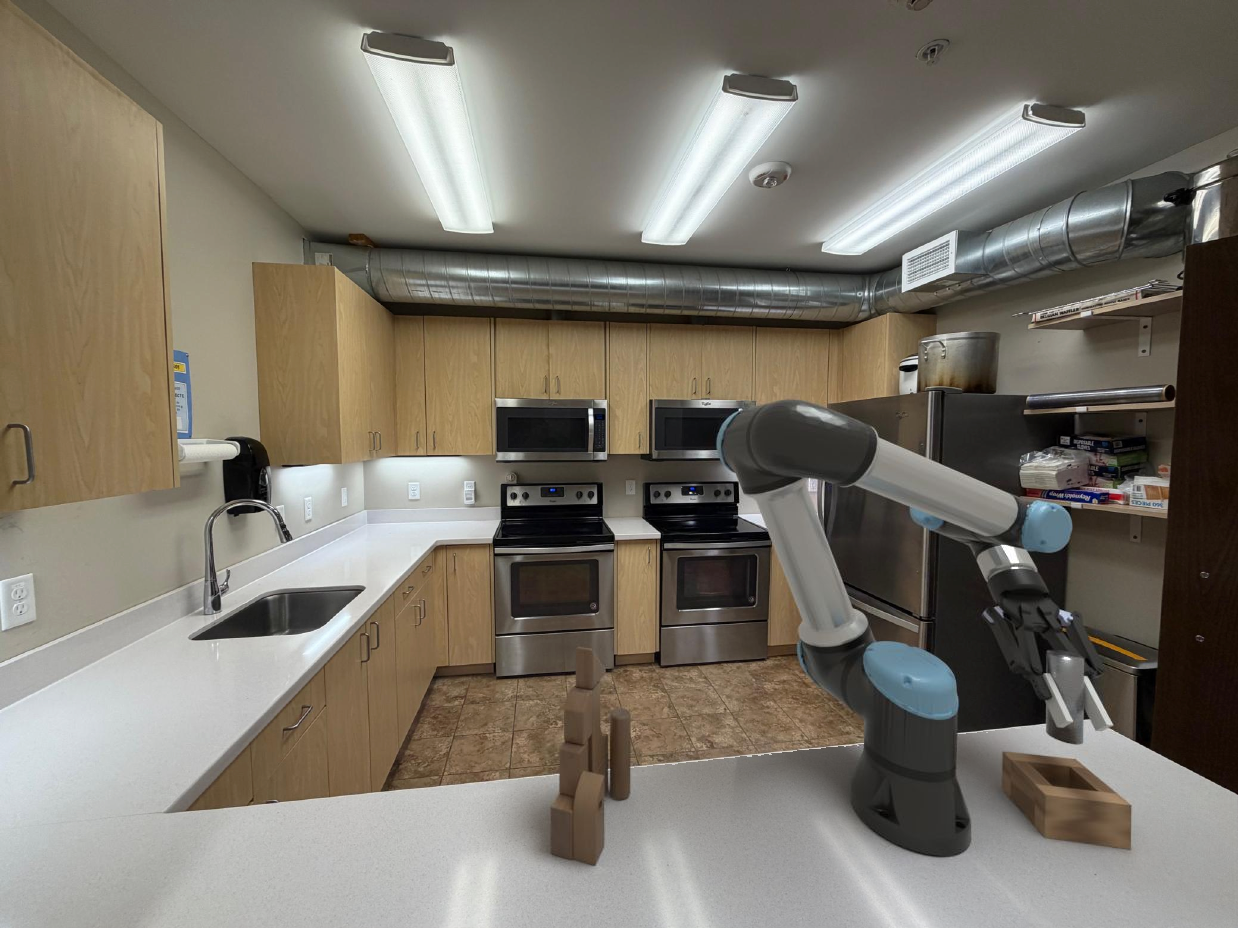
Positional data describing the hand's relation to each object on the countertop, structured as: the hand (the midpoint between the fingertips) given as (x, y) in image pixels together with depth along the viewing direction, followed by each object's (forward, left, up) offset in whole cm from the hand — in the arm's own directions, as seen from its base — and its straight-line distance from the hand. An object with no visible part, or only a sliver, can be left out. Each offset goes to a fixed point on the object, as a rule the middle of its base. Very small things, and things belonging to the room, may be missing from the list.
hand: (1084, 725), depth 66 cm
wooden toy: (-67, -10, -16) cm, 70 cm away
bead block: (0, +4, -15) cm, 16 cm away
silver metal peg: (0, +4, -4) cm, 5 cm away
